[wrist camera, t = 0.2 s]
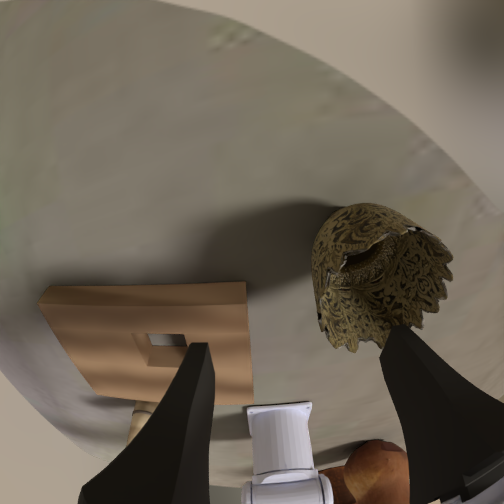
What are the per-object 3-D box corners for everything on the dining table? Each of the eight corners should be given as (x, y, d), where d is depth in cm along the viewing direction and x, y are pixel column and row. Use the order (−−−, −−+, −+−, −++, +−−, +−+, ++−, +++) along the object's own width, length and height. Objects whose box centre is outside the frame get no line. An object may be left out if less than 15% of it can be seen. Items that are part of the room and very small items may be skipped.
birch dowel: (165, 406, 31) (155, 475, 22) (141, 403, 31) (129, 470, 22) (158, 393, 29) (145, 467, 21) (133, 390, 29) (117, 462, 21)
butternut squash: (327, 457, 46) (342, 554, 25) (360, 434, 40) (385, 550, 18) (377, 450, 49) (396, 536, 27) (413, 425, 42) (441, 523, 21)
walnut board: (253, 384, 28) (254, 403, 26) (102, 377, 28) (97, 394, 26) (245, 281, 21) (246, 303, 19) (49, 285, 21) (36, 303, 19)
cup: (282, 267, 20) (300, 356, 13) (303, 167, 17) (347, 222, 10) (373, 275, 21) (415, 350, 14) (403, 187, 17) (475, 245, 10)
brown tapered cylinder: (315, 465, 49) (324, 530, 34) (380, 456, 53) (393, 511, 38) (284, 481, 58) (289, 534, 43) (344, 476, 62) (352, 523, 46)
